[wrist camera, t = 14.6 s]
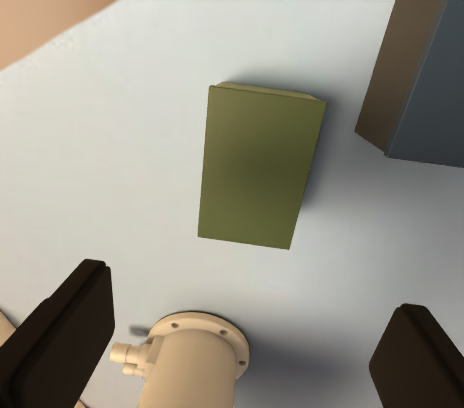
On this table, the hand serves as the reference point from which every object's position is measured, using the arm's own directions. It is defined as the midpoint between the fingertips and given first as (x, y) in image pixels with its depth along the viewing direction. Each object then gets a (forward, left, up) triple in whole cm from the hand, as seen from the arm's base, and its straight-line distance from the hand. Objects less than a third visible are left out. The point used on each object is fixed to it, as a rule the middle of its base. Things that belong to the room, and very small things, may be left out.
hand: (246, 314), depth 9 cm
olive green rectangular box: (0, +1, -16) cm, 16 cm away
